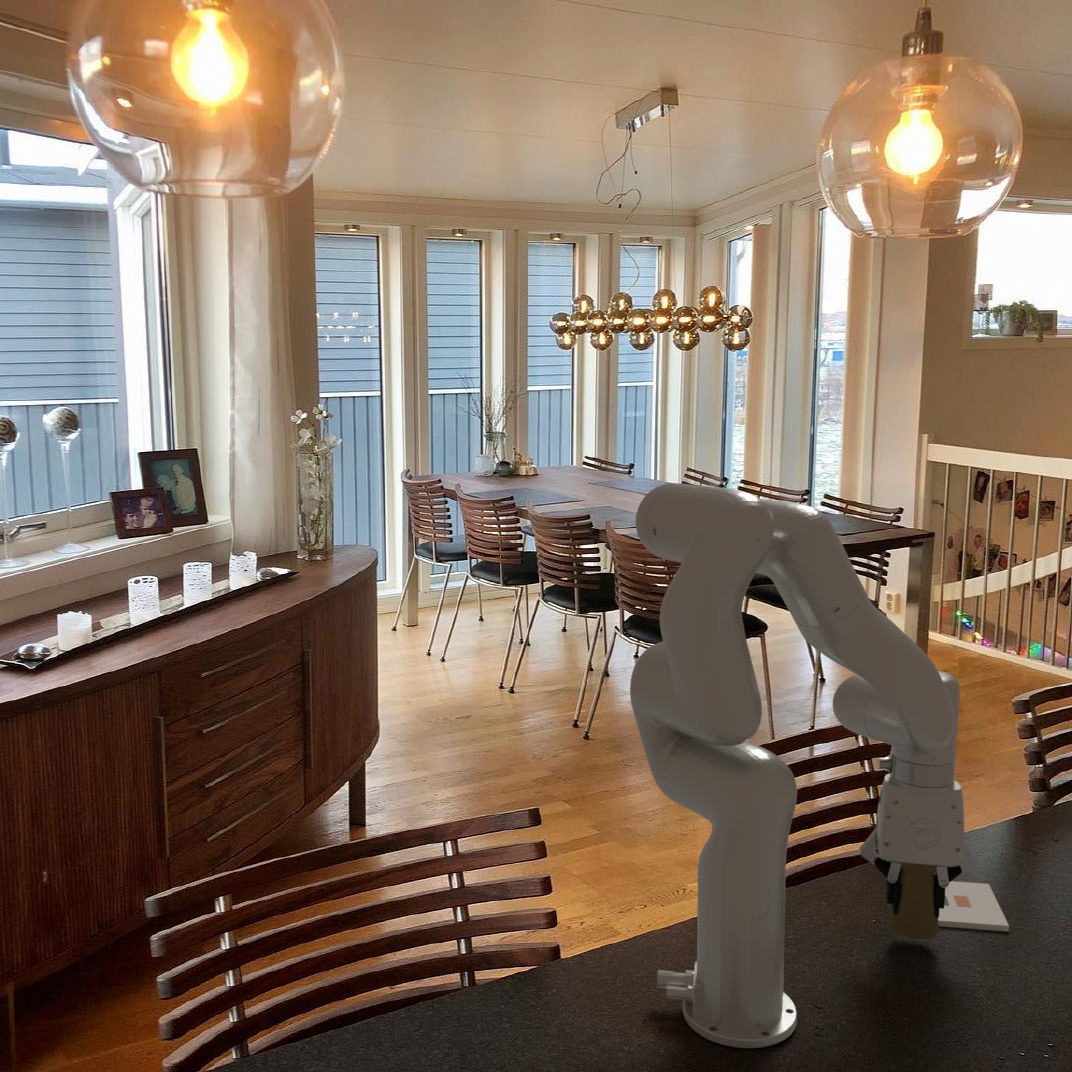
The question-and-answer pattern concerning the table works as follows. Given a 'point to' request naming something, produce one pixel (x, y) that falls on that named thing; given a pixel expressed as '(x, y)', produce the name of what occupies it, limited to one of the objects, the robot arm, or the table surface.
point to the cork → (916, 903)
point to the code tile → (971, 908)
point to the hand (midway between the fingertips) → (914, 909)
